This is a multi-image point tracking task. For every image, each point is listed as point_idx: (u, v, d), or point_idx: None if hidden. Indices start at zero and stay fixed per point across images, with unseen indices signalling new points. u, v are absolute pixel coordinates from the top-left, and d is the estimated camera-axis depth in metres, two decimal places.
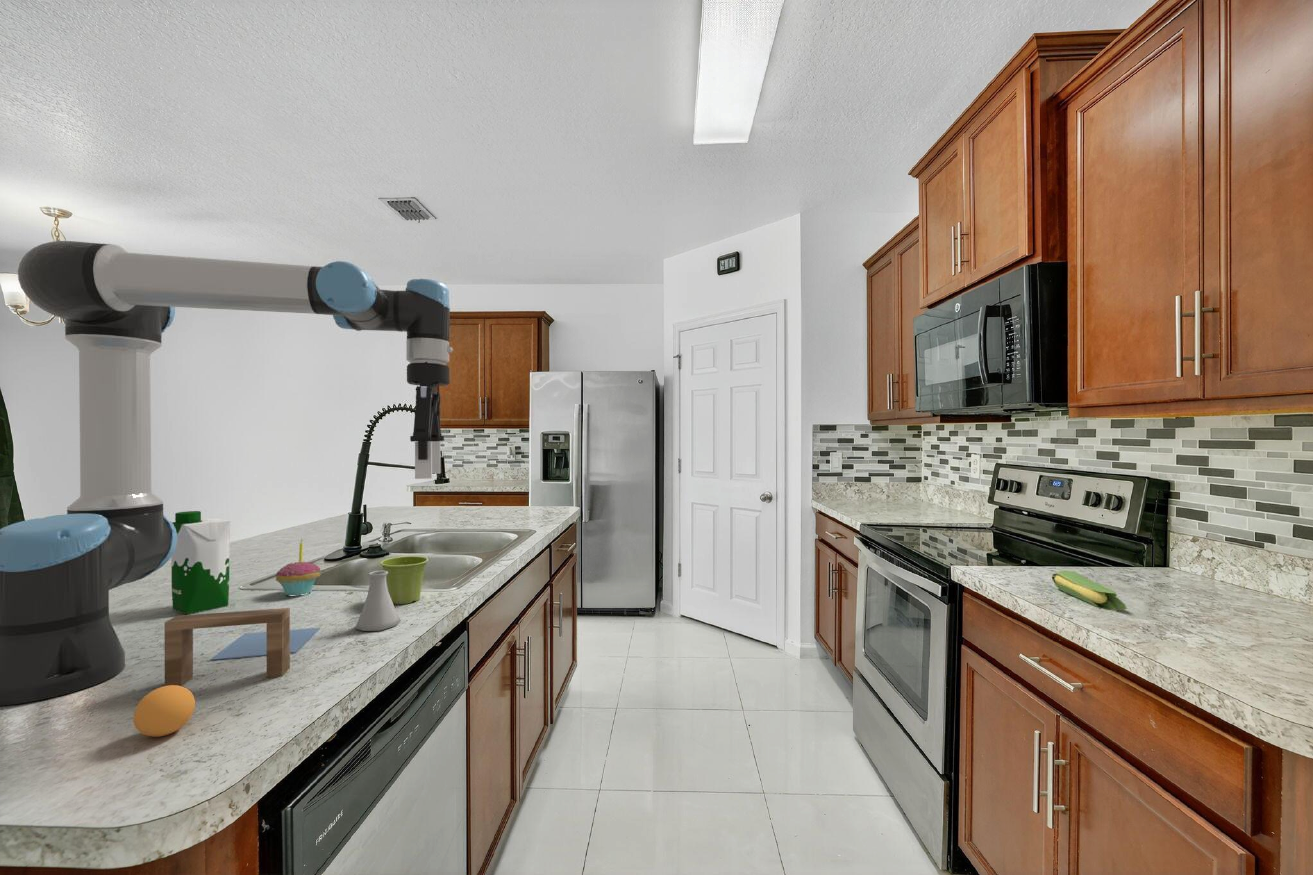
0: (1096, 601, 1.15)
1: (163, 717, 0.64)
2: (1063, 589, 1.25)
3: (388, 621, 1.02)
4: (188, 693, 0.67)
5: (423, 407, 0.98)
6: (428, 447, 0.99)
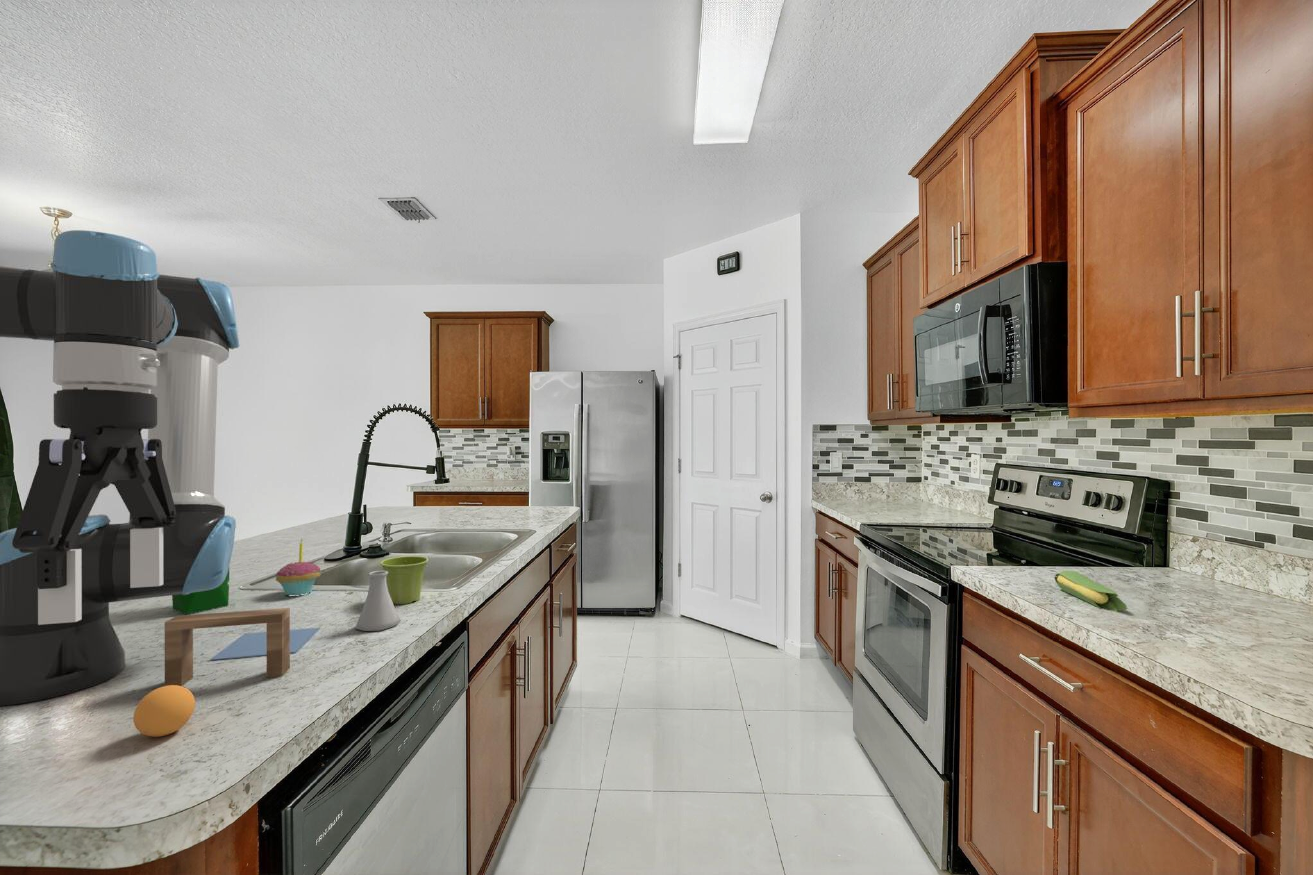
0: (1097, 601, 1.15)
1: (163, 717, 0.64)
2: (1065, 589, 1.24)
3: (388, 621, 1.02)
4: (188, 693, 0.67)
5: (51, 484, 0.49)
6: (68, 561, 0.50)
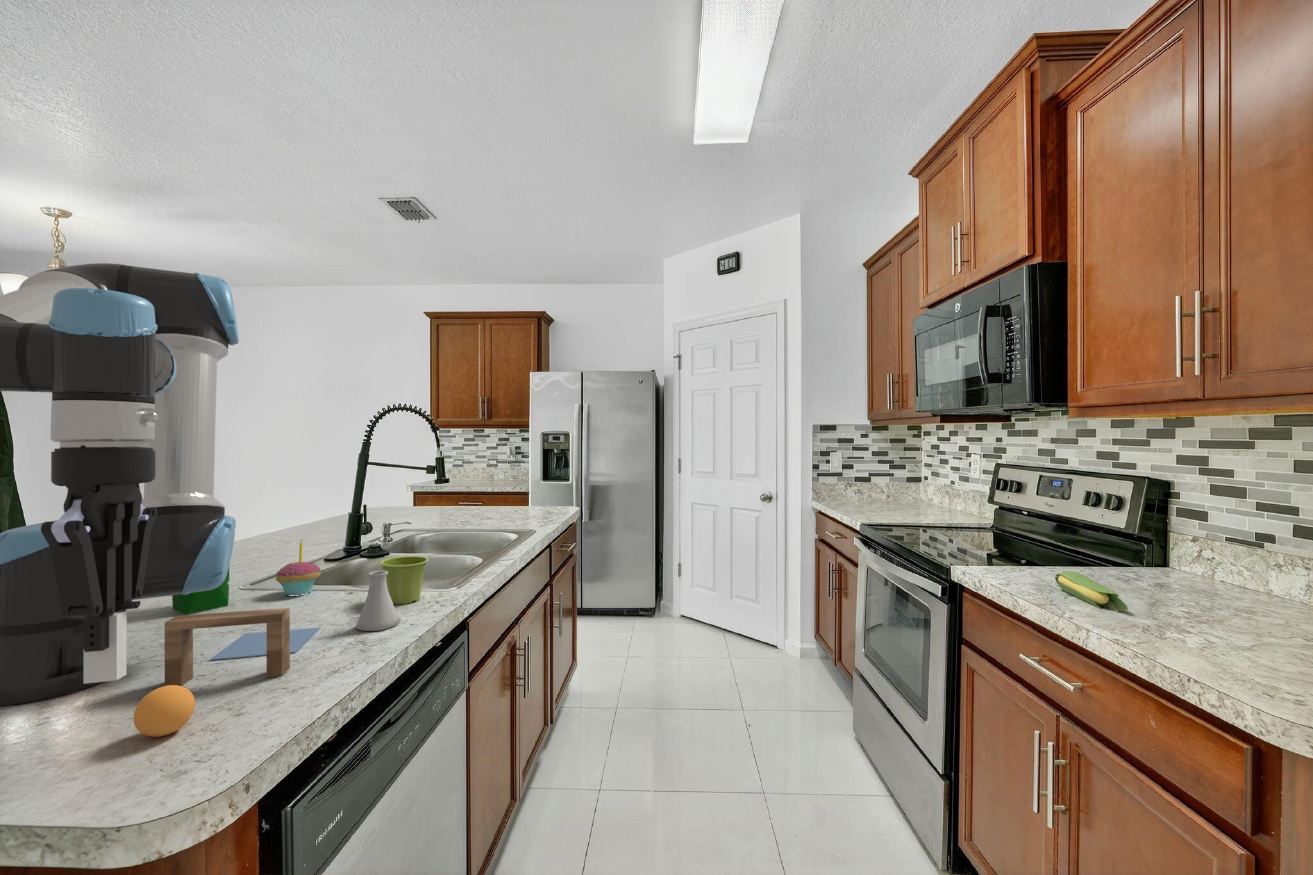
0: (1098, 602, 1.14)
1: (163, 717, 0.64)
2: (1066, 589, 1.24)
3: (388, 621, 1.02)
4: (188, 693, 0.67)
5: (72, 564, 0.52)
6: (110, 625, 0.56)
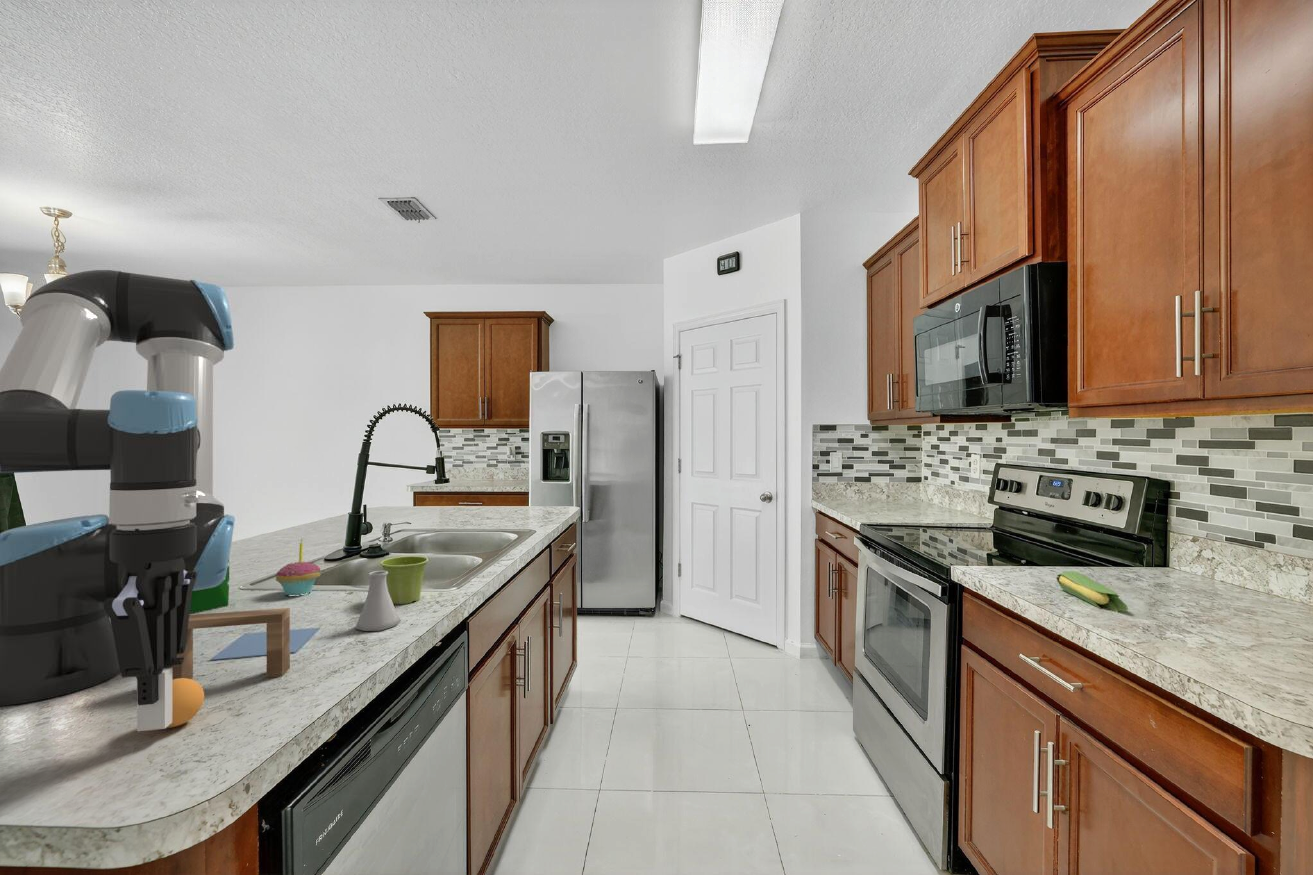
0: (1098, 602, 1.14)
1: (176, 698, 0.66)
2: (1067, 590, 1.24)
3: (388, 621, 1.02)
4: None
5: (129, 634, 0.60)
6: (159, 681, 0.64)
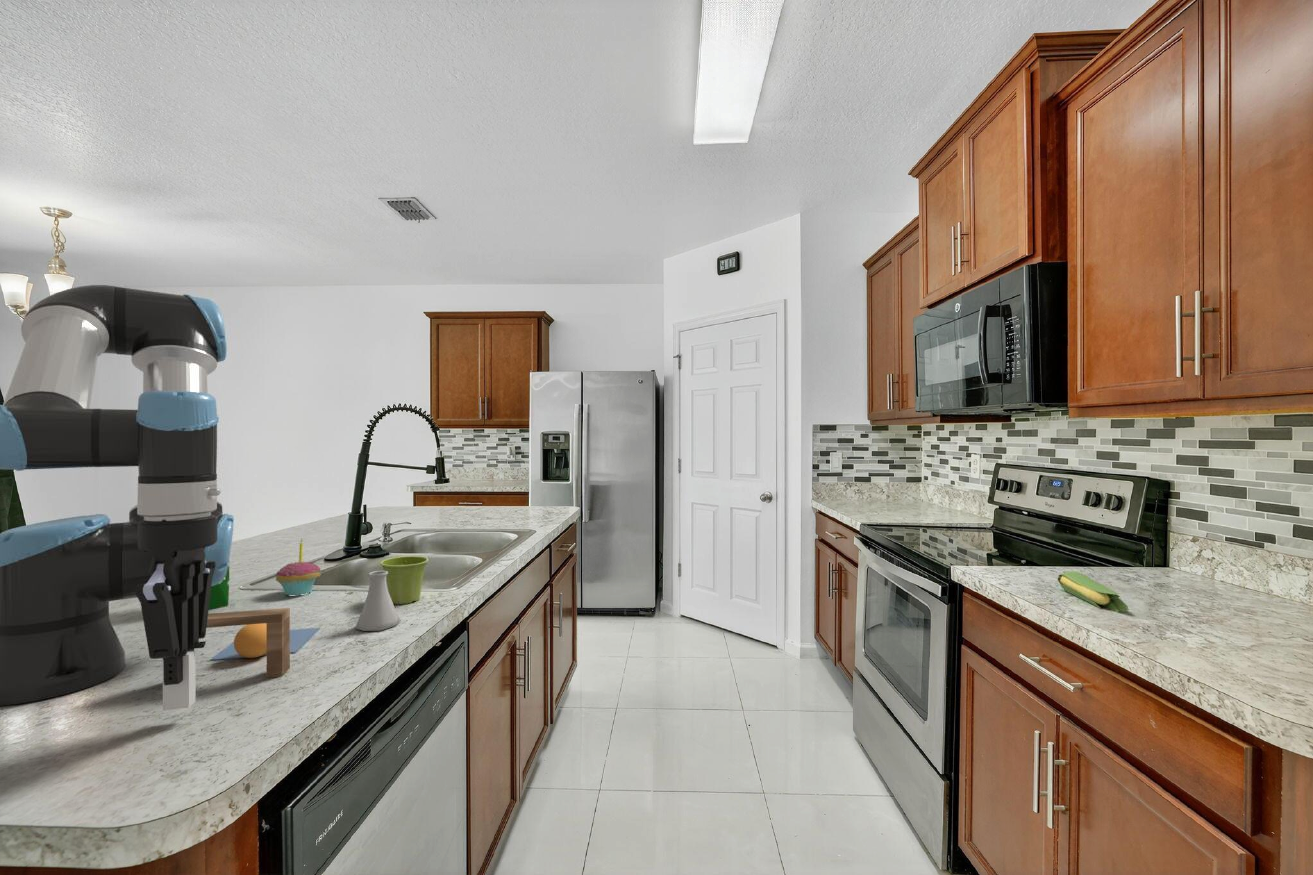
0: (1098, 602, 1.14)
1: None
2: (1068, 590, 1.24)
3: (388, 621, 1.02)
4: None
5: (157, 617, 0.64)
6: (184, 663, 0.69)
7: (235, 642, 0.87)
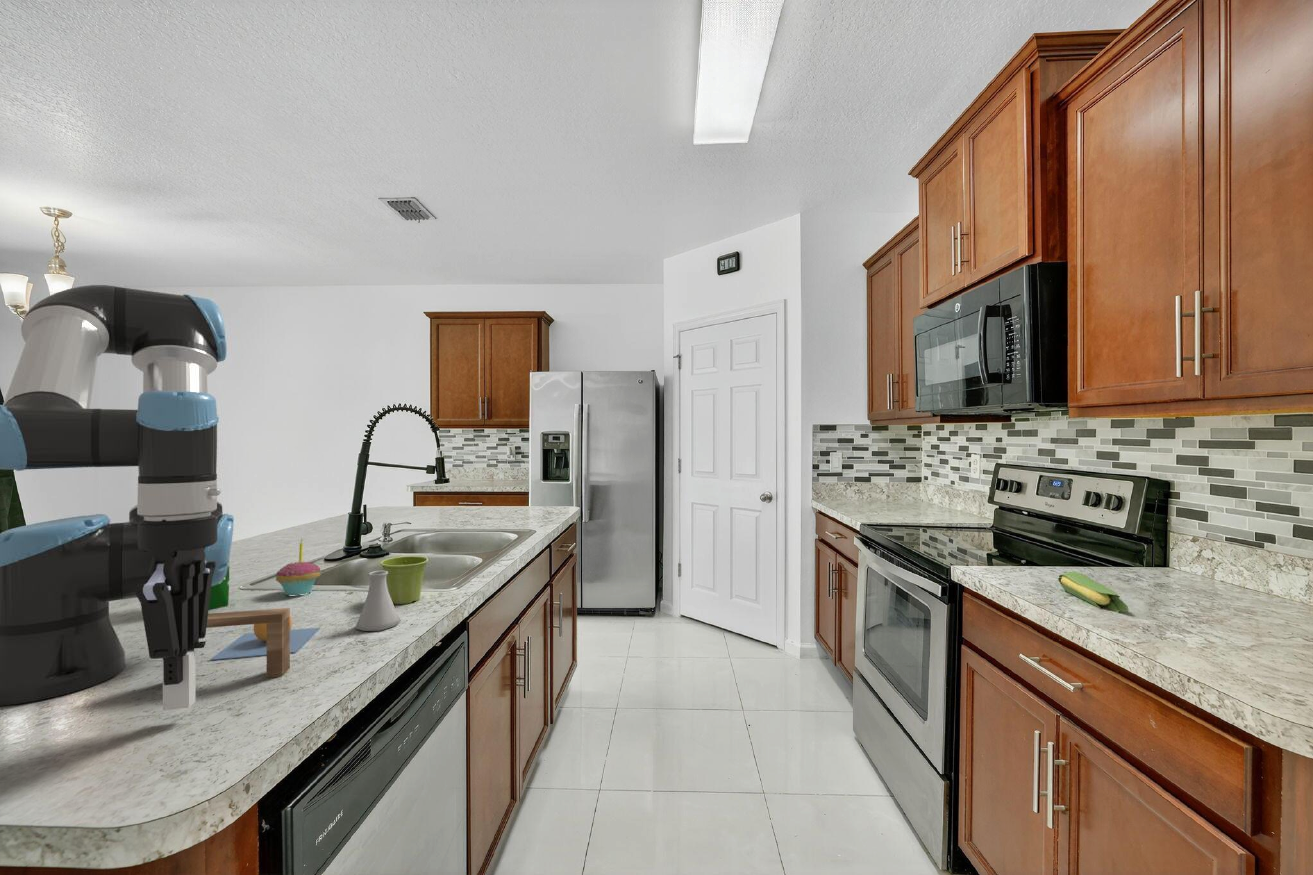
0: (1099, 602, 1.14)
1: None
2: (1068, 590, 1.24)
3: (388, 621, 1.02)
4: None
5: (157, 617, 0.64)
6: (184, 663, 0.69)
7: None
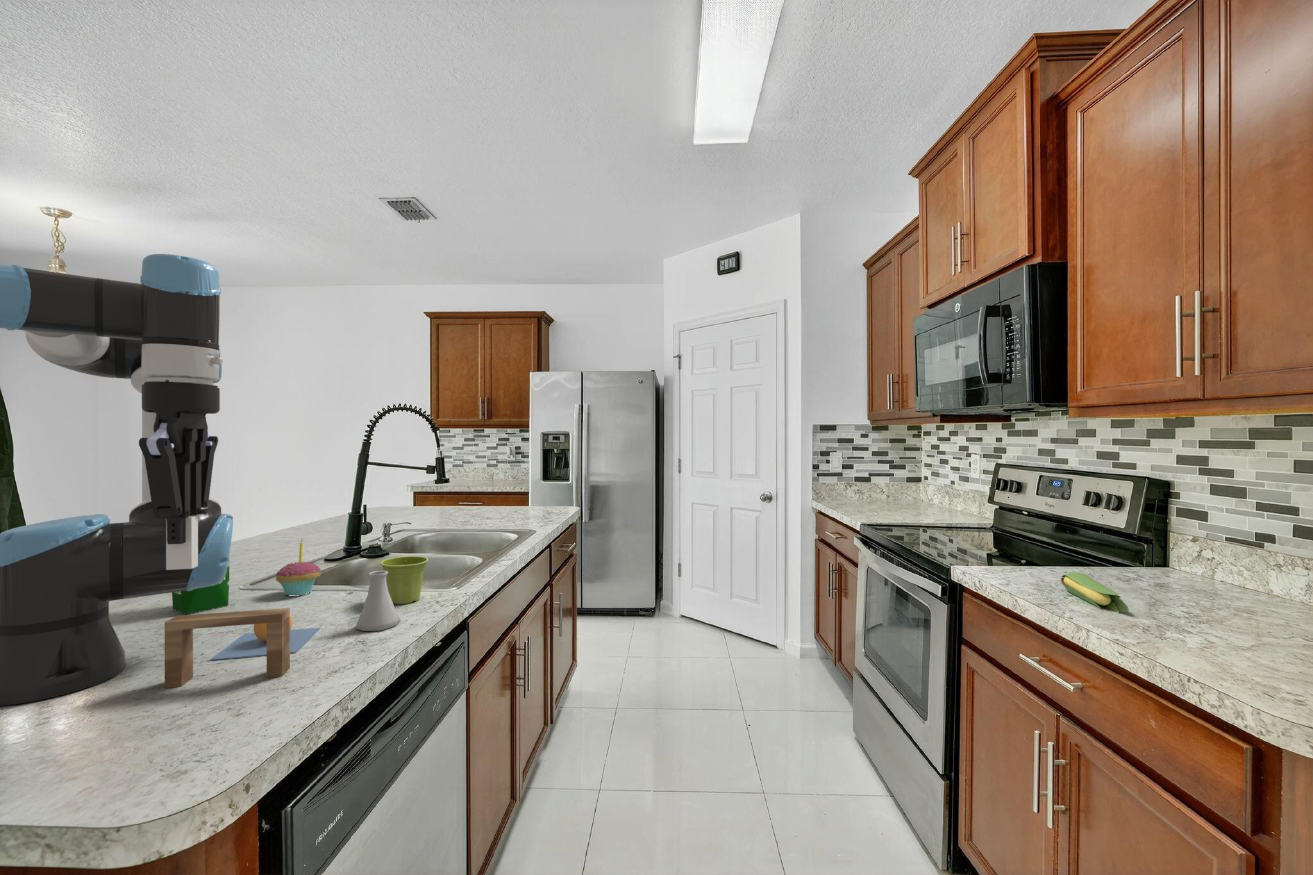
0: (1099, 603, 1.14)
1: None
2: (1070, 590, 1.24)
3: (388, 621, 1.02)
4: None
5: (161, 473, 0.66)
6: (186, 525, 0.70)
7: None
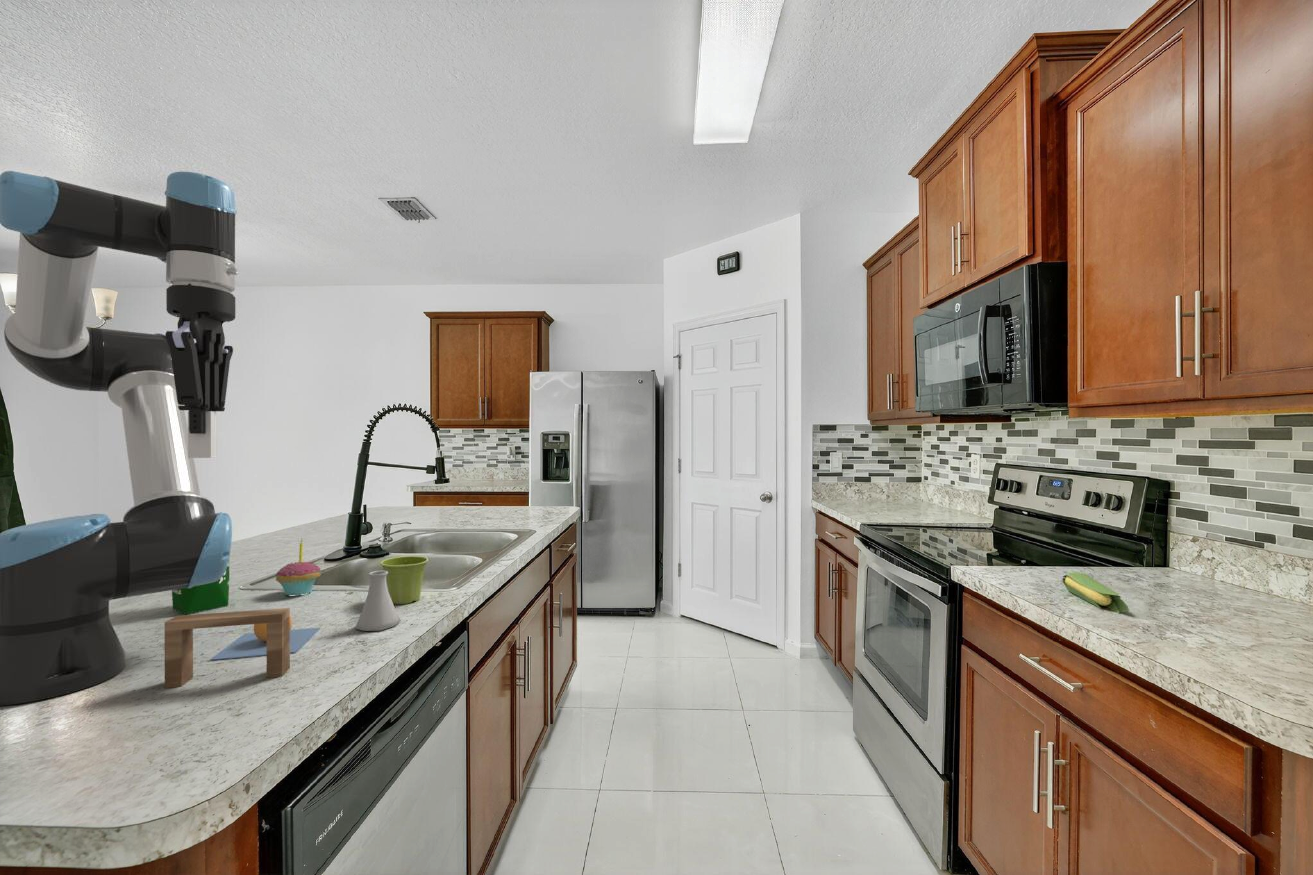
0: (1100, 603, 1.14)
1: None
2: (1072, 591, 1.23)
3: (388, 621, 1.02)
4: None
5: (184, 364, 0.74)
6: (206, 418, 0.78)
7: None
